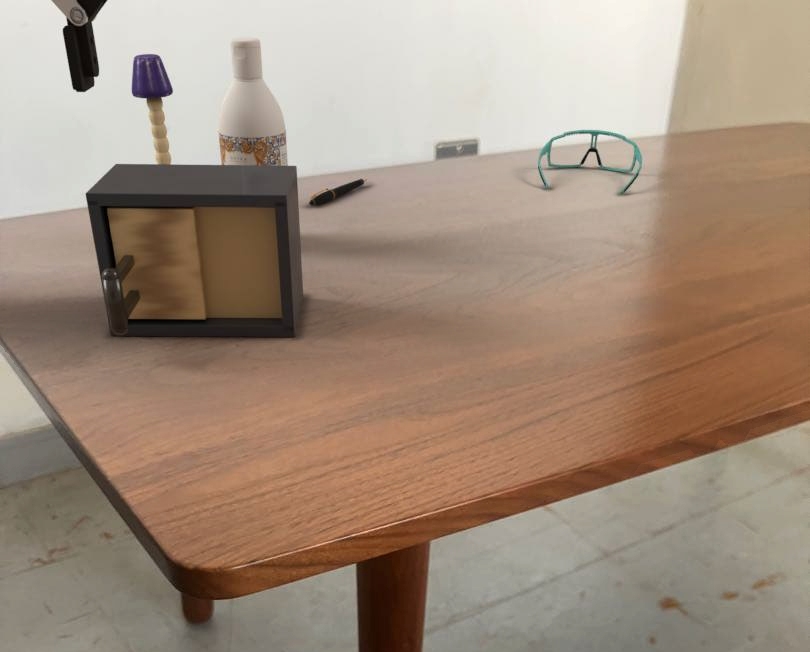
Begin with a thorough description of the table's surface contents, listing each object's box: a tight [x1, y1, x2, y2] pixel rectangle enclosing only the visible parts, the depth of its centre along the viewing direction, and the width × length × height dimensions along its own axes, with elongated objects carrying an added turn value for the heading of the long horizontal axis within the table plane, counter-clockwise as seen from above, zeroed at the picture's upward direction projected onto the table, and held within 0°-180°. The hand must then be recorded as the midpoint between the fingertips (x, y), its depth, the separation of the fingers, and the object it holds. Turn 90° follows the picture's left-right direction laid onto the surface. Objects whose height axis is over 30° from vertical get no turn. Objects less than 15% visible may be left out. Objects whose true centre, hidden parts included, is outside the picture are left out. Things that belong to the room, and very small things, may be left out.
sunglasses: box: [537, 129, 643, 195], centre depth 127 cm, size 14×15×5 cm
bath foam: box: [217, 36, 289, 166], centre depth 96 cm, size 7×7×20 cm
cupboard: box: [85, 163, 304, 338], centre depth 81 cm, size 16×10×12 cm, turn 91°
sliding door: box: [102, 206, 207, 335], centre depth 75 cm, size 7×7×9 cm
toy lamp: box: [131, 53, 174, 164], centre depth 109 cm, size 5×5×17 cm
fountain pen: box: [308, 178, 368, 207], centre depth 118 cm, size 14×1×2 cm, turn 151°
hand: (15, 88), depth 64 cm, fingers open, 9 cm apart
